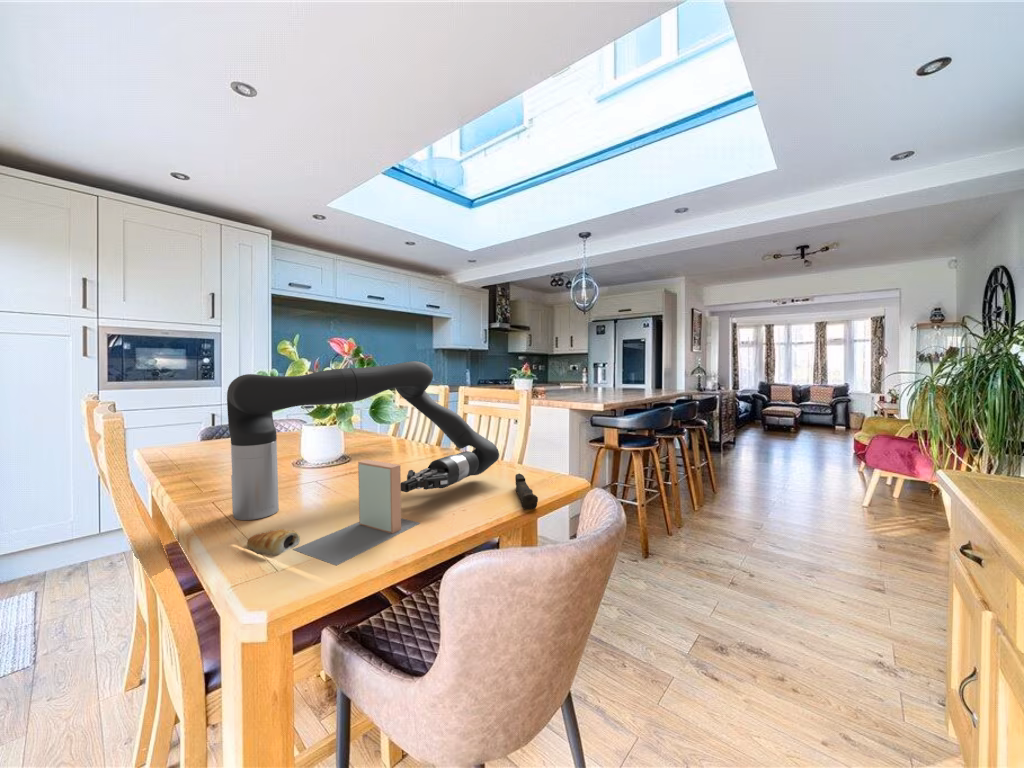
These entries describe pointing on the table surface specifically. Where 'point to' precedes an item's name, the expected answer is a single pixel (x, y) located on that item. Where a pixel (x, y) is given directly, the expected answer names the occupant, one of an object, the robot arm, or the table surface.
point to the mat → (349, 542)
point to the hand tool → (525, 493)
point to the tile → (379, 495)
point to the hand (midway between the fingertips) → (402, 487)
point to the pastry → (273, 541)
